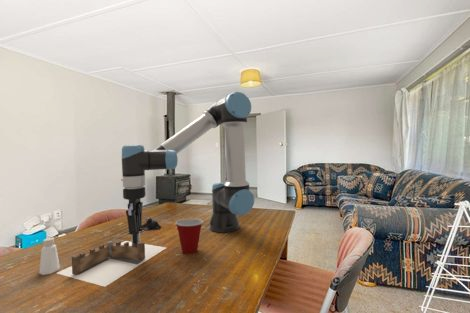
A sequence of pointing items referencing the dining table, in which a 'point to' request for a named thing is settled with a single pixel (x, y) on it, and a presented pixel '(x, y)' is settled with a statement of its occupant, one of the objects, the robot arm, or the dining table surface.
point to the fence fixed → (88, 259)
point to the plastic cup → (189, 234)
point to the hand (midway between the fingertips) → (136, 250)
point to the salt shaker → (49, 257)
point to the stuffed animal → (150, 225)
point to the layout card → (111, 267)
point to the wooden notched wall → (126, 250)
